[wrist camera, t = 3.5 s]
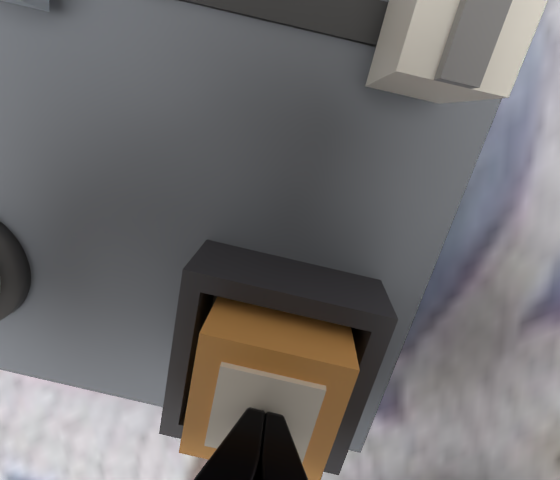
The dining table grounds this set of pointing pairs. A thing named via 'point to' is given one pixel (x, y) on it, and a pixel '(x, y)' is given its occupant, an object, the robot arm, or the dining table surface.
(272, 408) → the button amber
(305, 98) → the panel
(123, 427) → the dining table surface
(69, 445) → the dining table surface
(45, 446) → the dining table surface
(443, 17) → the slider right
